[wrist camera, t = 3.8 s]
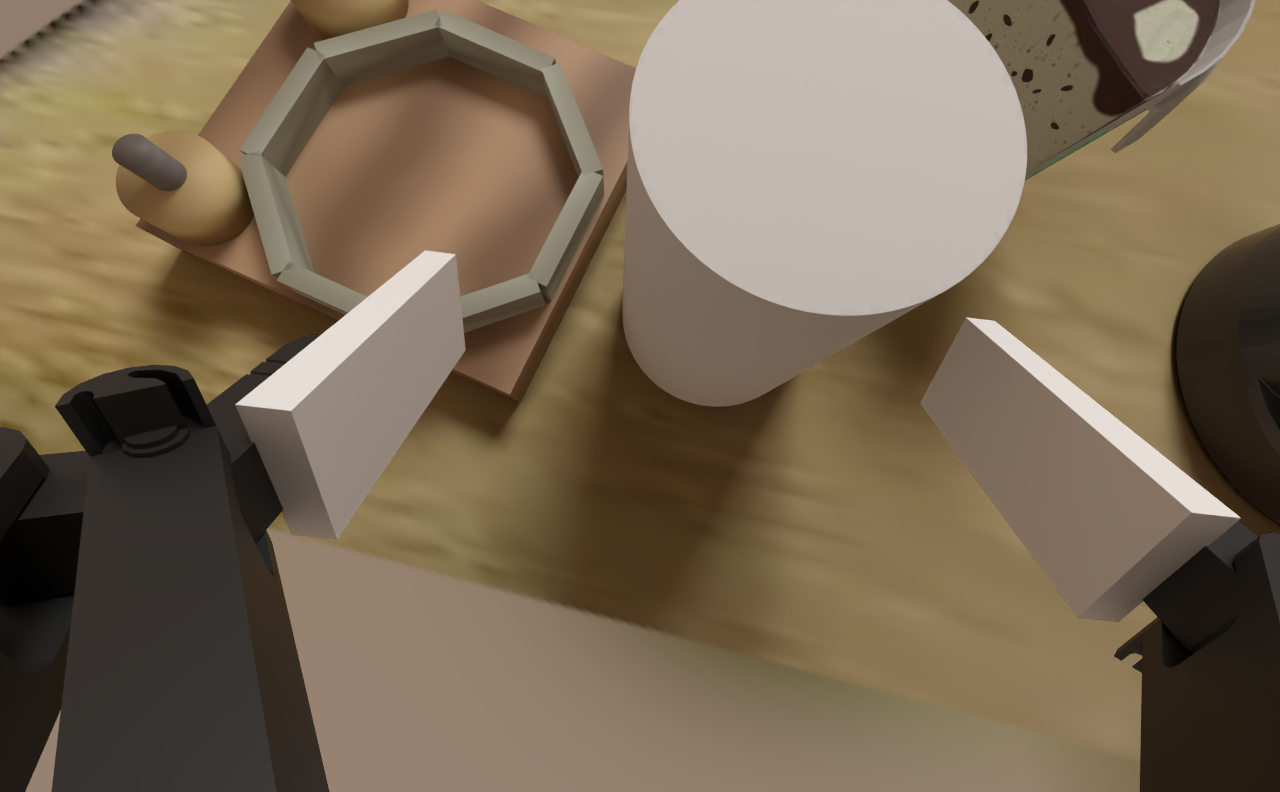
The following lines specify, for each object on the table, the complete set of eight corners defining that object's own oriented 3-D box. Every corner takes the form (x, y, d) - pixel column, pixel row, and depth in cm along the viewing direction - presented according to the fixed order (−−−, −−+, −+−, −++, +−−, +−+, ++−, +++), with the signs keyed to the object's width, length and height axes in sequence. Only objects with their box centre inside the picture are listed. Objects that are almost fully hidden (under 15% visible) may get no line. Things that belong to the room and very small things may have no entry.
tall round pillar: (834, 281, 22) (1081, 60, 10) (756, 440, 21) (937, 391, 9) (675, 199, 23) (740, -107, 11) (588, 350, 21) (553, 190, 9)
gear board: (662, 115, 23) (675, 13, 18) (519, 402, 21) (488, 377, 16) (357, -17, 24) (285, -154, 19) (180, 249, 21) (40, 175, 16)
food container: (1051, 216, 23) (1368, 25, 14) (942, 265, 23) (1193, 102, 13) (921, 8, 25) (1121, -298, 15) (816, 49, 24) (953, -245, 14)
